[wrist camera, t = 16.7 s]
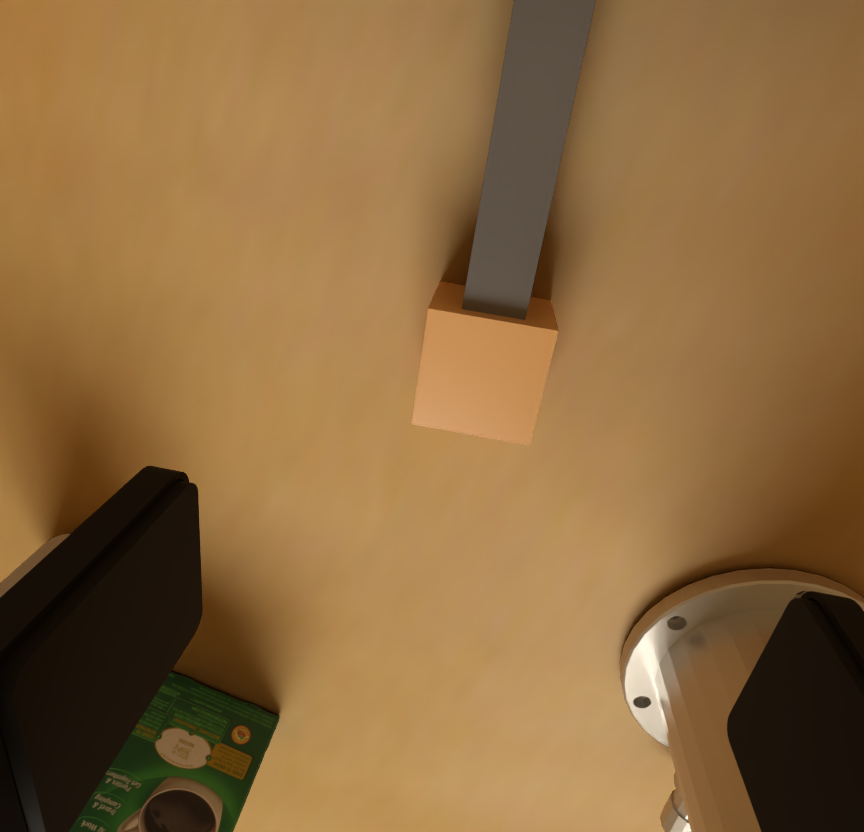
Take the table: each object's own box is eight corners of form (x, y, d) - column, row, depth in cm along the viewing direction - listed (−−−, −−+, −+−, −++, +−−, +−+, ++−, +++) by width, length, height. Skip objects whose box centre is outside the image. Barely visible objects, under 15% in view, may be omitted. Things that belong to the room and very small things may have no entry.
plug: (526, 400, 25) (530, 445, 22) (424, 382, 26) (411, 424, 22) (623, -6, 19) (650, -38, 15) (486, -27, 19) (481, -62, 16)
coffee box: (146, 689, 36) (-27, 957, 25) (156, 660, 35) (-21, 927, 23) (268, 739, 37) (157, 1022, 25) (282, 712, 36) (172, 997, 24)
